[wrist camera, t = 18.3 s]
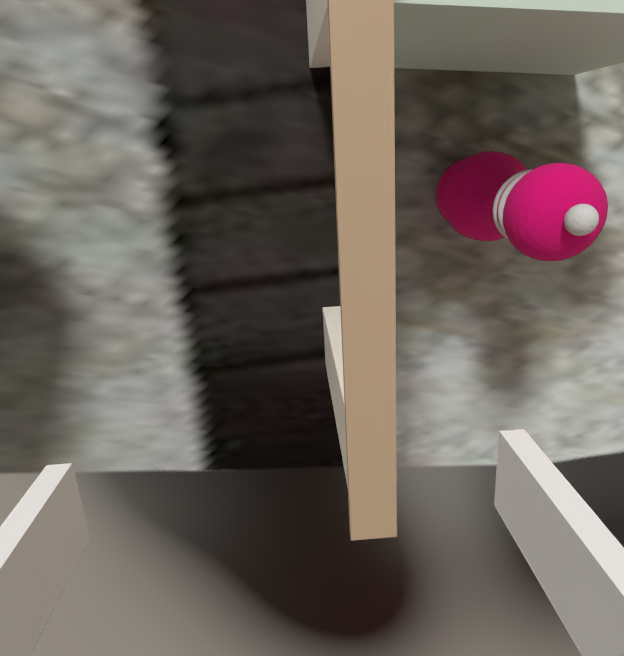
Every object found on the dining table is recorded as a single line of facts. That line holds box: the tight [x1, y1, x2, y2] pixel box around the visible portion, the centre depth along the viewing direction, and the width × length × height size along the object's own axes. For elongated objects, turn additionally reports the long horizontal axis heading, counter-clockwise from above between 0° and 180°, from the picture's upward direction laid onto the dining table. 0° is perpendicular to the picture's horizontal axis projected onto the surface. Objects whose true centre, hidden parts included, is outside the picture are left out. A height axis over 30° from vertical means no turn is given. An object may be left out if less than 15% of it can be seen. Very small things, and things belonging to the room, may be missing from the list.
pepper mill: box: [437, 151, 608, 261], centre depth 38 cm, size 7×7×20 cm
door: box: [394, 0, 624, 75], centre depth 34 cm, size 3×20×20 cm, turn 88°
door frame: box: [306, 0, 397, 540], centre depth 36 cm, size 3×34×25 cm, turn 3°
